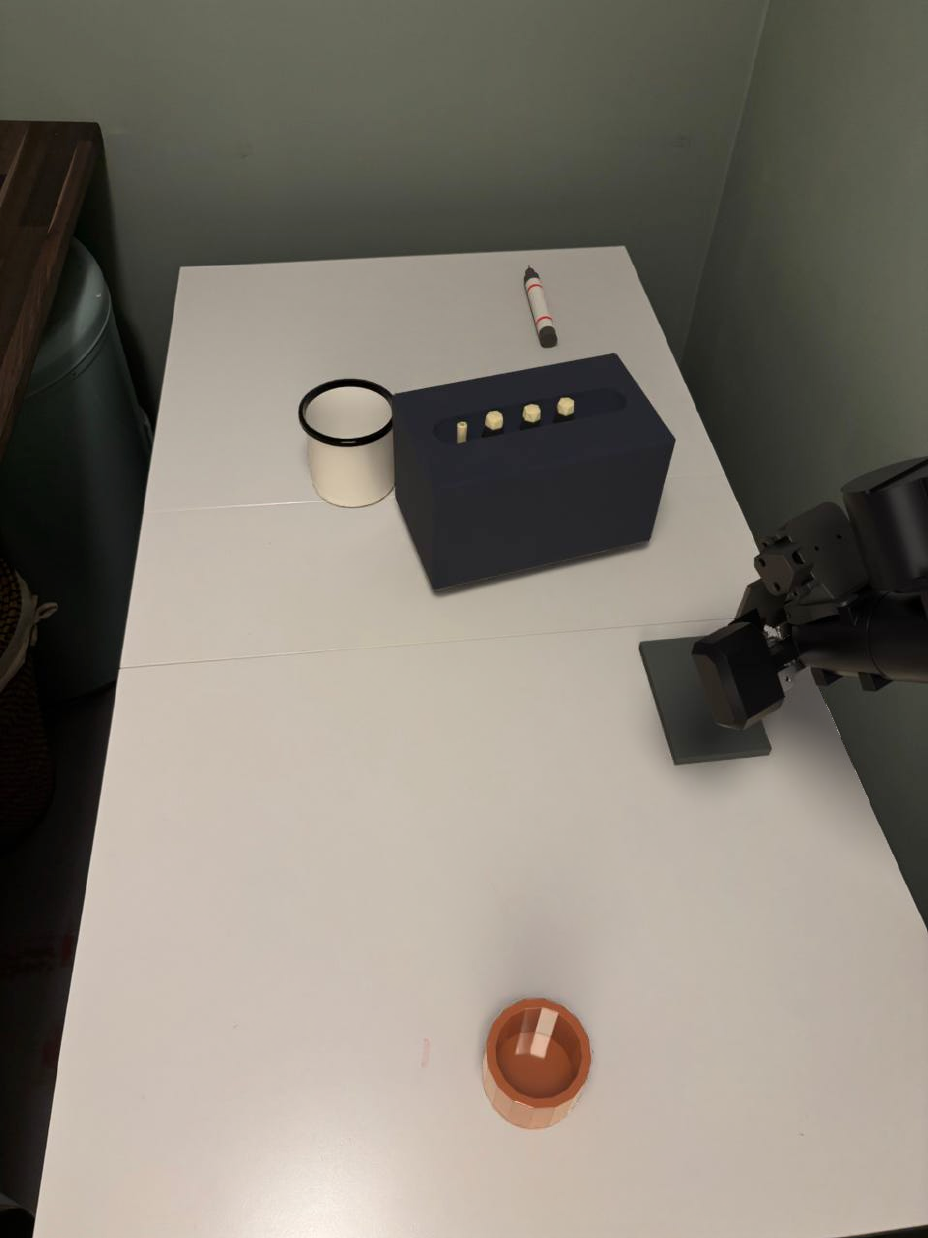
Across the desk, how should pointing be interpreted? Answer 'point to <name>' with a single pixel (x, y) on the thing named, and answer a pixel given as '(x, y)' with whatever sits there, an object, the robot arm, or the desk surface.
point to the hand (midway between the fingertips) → (735, 627)
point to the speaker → (527, 468)
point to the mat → (693, 708)
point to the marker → (540, 308)
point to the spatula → (760, 601)
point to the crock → (535, 1063)
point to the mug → (349, 440)
